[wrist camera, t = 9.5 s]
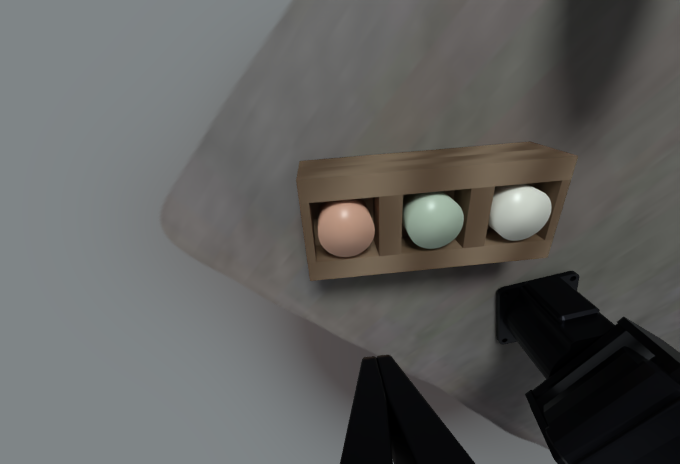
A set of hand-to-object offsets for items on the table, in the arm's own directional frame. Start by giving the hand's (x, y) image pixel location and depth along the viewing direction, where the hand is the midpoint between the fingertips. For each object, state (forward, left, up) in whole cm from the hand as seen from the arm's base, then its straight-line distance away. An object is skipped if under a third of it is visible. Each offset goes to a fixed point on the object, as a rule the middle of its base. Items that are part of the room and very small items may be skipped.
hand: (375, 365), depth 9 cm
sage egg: (-1, -5, -11) cm, 12 cm away
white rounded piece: (-2, -10, -11) cm, 15 cm away
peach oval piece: (0, 0, -11) cm, 11 cm away
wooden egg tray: (-1, -5, -13) cm, 14 cm away
